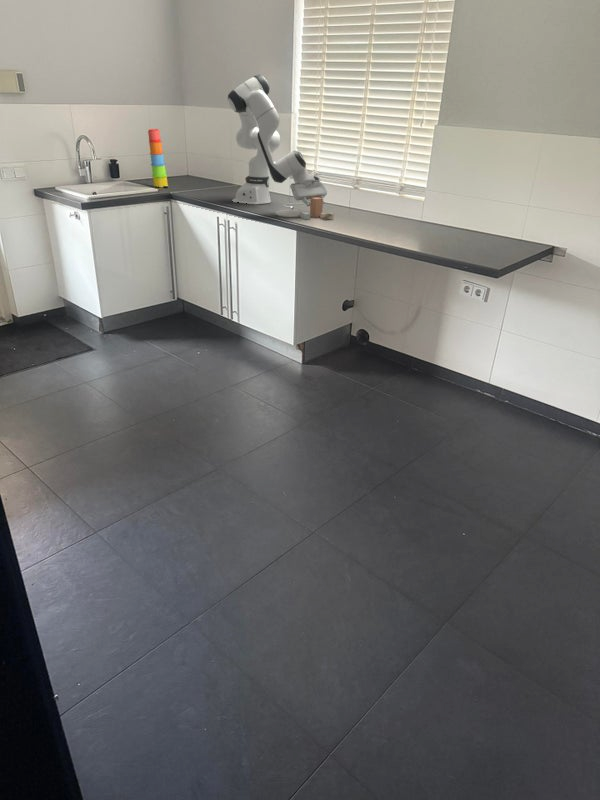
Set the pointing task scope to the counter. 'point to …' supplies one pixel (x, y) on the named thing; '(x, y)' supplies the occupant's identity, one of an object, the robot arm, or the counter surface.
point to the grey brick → (305, 215)
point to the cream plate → (288, 213)
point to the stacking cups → (157, 158)
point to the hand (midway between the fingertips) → (316, 204)
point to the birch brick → (326, 216)
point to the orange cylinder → (316, 206)
